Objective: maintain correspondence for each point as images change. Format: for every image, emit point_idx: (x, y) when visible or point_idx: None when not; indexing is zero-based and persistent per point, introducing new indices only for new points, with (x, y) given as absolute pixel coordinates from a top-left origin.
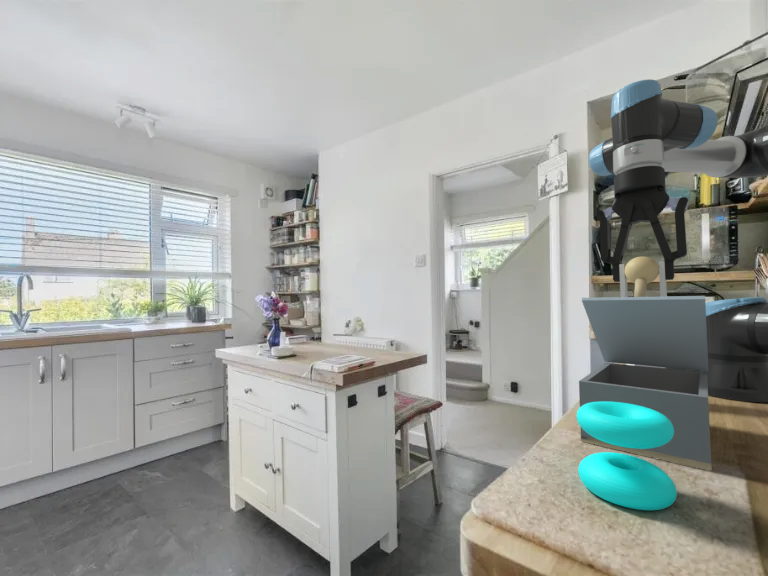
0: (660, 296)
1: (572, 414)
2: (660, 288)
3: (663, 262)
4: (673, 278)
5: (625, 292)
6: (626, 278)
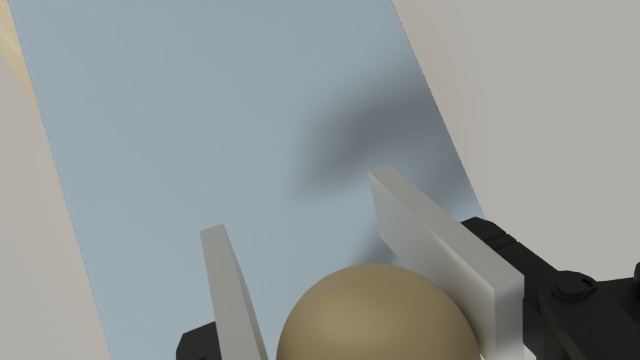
0: (386, 241)
1: (30, 100)
2: (406, 263)
3: (514, 356)
4: (482, 224)
5: (253, 307)
6: (251, 320)
